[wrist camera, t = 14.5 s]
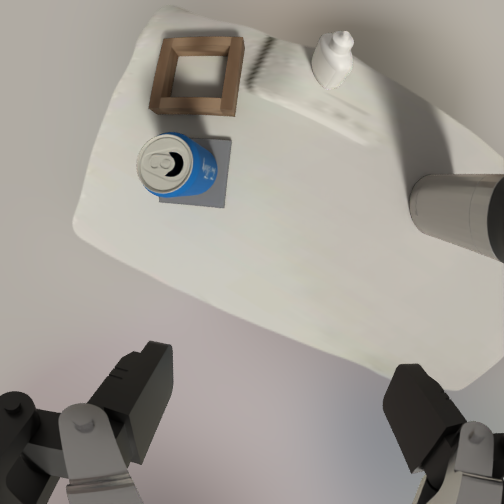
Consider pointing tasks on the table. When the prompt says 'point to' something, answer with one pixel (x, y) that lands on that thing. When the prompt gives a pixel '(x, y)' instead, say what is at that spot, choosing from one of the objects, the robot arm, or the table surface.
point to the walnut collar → (197, 47)
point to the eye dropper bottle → (333, 59)
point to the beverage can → (175, 166)
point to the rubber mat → (218, 189)
